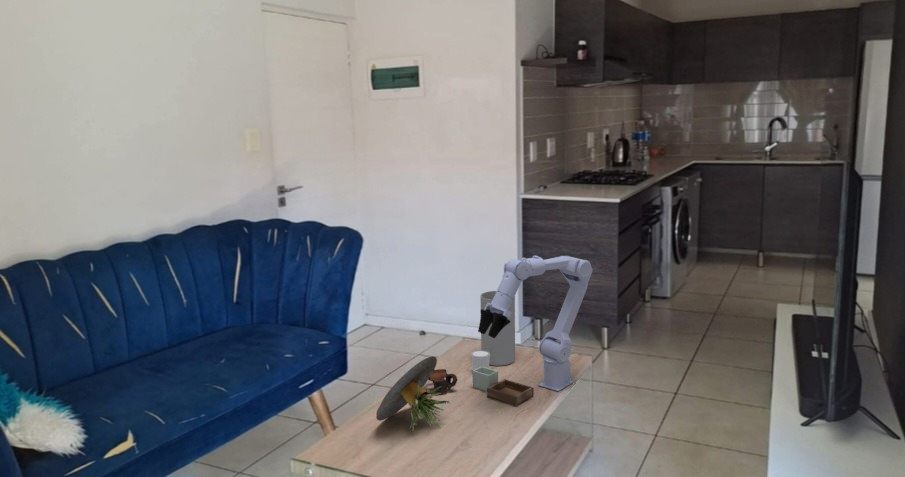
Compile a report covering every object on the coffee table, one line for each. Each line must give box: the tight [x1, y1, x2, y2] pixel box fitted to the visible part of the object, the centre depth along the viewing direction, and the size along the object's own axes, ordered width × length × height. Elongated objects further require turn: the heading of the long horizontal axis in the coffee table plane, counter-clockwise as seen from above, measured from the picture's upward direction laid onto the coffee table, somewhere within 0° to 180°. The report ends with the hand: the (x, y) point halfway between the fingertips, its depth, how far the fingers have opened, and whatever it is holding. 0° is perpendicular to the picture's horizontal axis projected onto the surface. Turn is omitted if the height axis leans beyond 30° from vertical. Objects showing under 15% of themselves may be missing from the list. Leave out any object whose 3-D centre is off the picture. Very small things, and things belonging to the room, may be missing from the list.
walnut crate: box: [486, 378, 534, 407], centre depth 228 cm, size 10×12×3 cm
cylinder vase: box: [480, 290, 516, 367], centre depth 259 cm, size 12×12×25 cm
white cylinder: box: [470, 350, 490, 371], centre depth 249 cm, size 7×7×7 cm
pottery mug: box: [428, 368, 458, 395], centre depth 235 cm, size 12×10×8 cm
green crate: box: [471, 367, 499, 393], centre depth 236 cm, size 5×7×6 cm
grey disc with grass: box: [375, 356, 450, 432], centre depth 209 cm, size 25×18×25 cm
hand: (486, 335), depth 217 cm, fingers open, 7 cm apart
